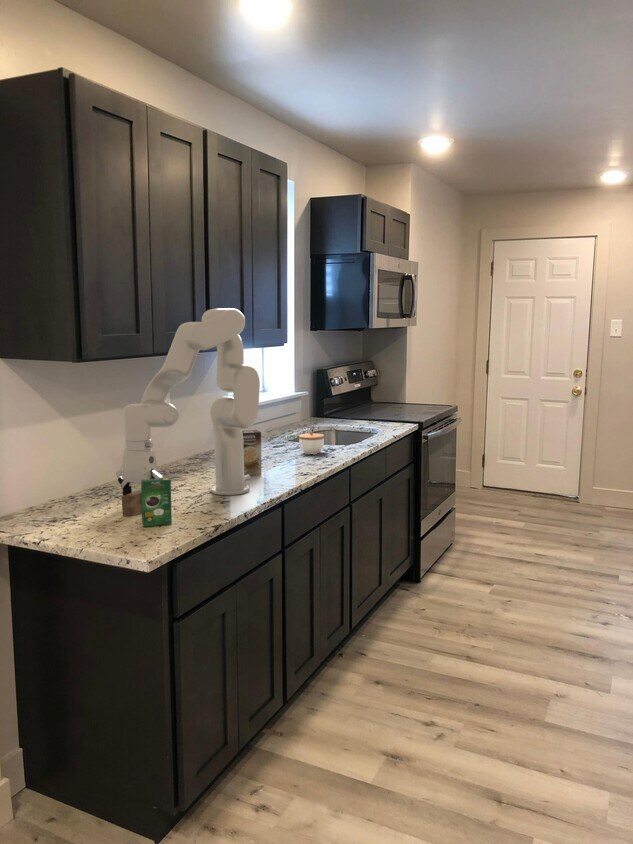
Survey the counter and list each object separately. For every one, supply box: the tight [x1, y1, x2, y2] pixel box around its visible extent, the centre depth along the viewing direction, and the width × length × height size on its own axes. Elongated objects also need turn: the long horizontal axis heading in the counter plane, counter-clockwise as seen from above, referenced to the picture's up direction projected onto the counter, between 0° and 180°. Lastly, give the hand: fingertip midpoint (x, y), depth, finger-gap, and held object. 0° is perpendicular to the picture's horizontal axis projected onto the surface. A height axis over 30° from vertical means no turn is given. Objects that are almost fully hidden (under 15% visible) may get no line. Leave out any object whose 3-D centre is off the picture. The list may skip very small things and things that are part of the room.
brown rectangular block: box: [121, 489, 142, 517], centre depth 204 cm, size 14×2×6 cm, turn 154°
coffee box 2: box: [242, 429, 263, 477], centre depth 249 cm, size 9×6×16 cm
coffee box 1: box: [140, 477, 173, 528], centre depth 188 cm, size 8×3×13 cm, turn 111°
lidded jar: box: [298, 431, 325, 455], centre depth 288 cm, size 11×11×9 cm
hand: (140, 501), depth 204 cm, fingers open, 9 cm apart
